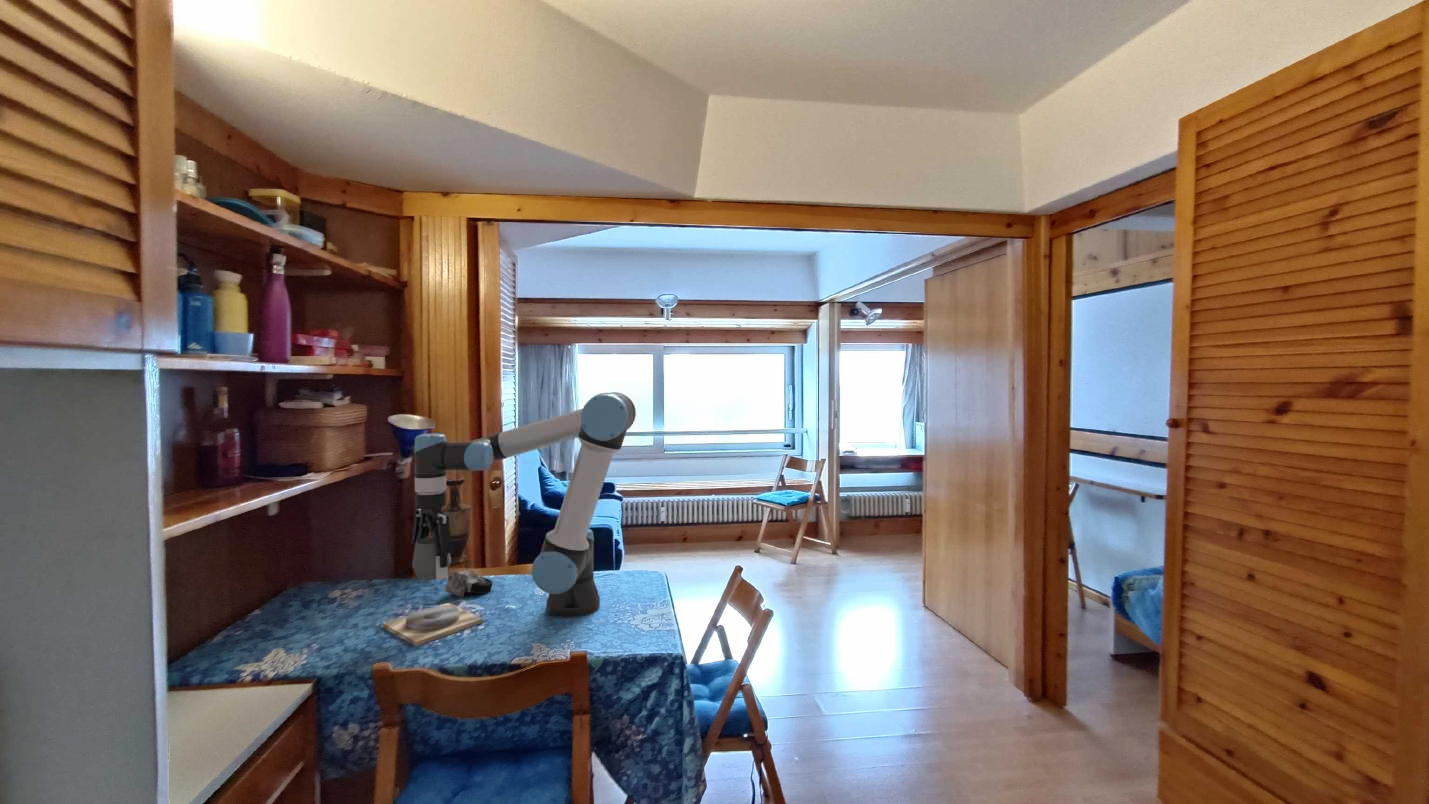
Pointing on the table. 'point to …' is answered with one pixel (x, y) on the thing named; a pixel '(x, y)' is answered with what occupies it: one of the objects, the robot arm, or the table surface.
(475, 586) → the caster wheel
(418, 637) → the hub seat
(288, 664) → the table surface
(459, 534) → the vase
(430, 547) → the cup
